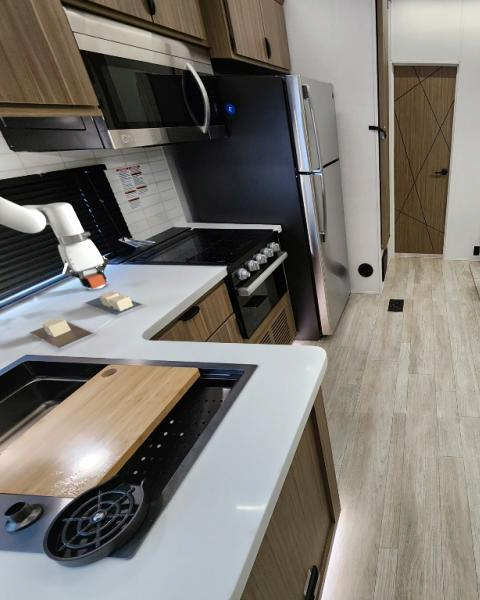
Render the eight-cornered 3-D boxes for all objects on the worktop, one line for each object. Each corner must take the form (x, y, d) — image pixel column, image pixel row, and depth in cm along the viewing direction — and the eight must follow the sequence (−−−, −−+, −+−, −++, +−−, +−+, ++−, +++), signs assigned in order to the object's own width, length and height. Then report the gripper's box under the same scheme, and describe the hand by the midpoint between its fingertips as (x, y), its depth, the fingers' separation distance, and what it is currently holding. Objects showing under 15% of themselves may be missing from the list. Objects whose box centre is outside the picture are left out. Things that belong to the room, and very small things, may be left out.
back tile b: (109, 307, 125) (105, 298, 123) (103, 304, 126) (98, 295, 125) (122, 302, 128) (118, 293, 126) (116, 299, 130) (112, 290, 128)
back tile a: (120, 311, 122) (115, 301, 120) (113, 308, 124) (109, 299, 122) (133, 305, 126) (129, 296, 124) (126, 303, 127) (122, 294, 125)
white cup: (105, 282, 146) (98, 267, 143) (107, 286, 142) (100, 271, 139) (85, 286, 142) (77, 272, 139) (87, 291, 138) (79, 276, 134)
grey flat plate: (143, 305, 127) (142, 304, 127) (117, 316, 120) (116, 315, 120) (110, 294, 135) (110, 293, 135) (84, 304, 128) (84, 302, 128)
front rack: (93, 334, 110) (93, 333, 109) (60, 349, 102) (59, 347, 102) (63, 321, 117) (62, 319, 117) (29, 334, 110) (29, 332, 110)
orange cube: (92, 288, 124) (87, 279, 123) (86, 286, 126) (81, 277, 124) (106, 284, 128) (101, 274, 126) (100, 282, 130) (95, 272, 128)
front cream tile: (54, 337, 107) (47, 326, 105) (47, 334, 109) (41, 323, 107) (71, 330, 111) (65, 320, 109) (64, 327, 113) (58, 317, 111)
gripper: (94, 231, 126) (115, 274, 135) (37, 244, 113) (63, 291, 122) (105, 233, 123) (125, 277, 132) (48, 247, 110) (74, 295, 119)
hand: (95, 284), depth 127 cm, fingers closed on orange cube, 4 cm apart
